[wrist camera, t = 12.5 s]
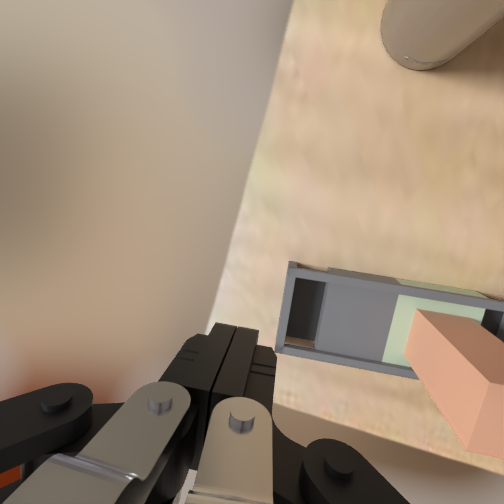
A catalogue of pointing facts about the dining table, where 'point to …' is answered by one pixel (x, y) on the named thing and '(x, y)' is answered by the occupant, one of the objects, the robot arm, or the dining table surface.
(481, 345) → the terracotta block
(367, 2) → the dining table surface
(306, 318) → the box
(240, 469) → the robot arm
